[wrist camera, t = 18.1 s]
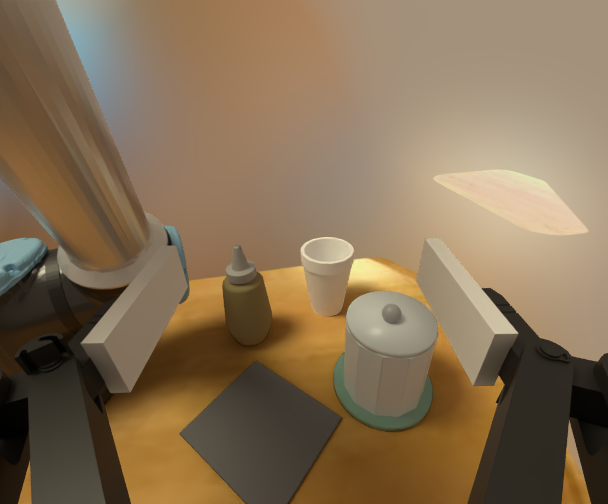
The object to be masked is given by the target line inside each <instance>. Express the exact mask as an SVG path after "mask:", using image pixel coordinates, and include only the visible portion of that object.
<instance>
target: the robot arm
mask: <svg viewBox="0 0 608 504" xmlns="http://www.w3.org/2000/svg"><path fill="white" fill-rule="evenodd" d="M0 179H1V180H2V182H3V183H4V184H5V185H6V186H7V187H8V188H9V189H10V191H11V192H12V193H13V194H14V195H15V196H16V197H17V198H18V199H19V201H20V202H21V203H22V204H23V205H24V206H25V207H26V208H27V209H28V210H29V211H30V213H31V214H32V215H33V216H34V217H35V218H36V219H37V221H38V222H39V223H40V224H41V225H42V226H43V227H44V228H45V229H46V231H48V233H49V234H50V235H51V236H52V237H53V238H54V240H56V242H57V243H58V244H59V248H58V249H52V250H48V246H47V244H45V243H43V242H42V241H41V240H40V239H37V238H20V239H15V240H10V241H6V242H3V243H0V504H18V501H19V497H20V494H21V490H22V486H23V483H24V479H25V475H26V472H27V468H28V465H29V461H30V469H31V498H32V504H131V502H130V498H129V495H128V491H127V487H126V483H125V480H124V476H123V472H122V469H121V465H120V461H119V458H118V454H117V450H116V447H115V443H114V439H113V436H112V432H111V428H110V425H109V421H108V417H107V414H106V410H105V406H104V404H105V403H106V401H107V400H108V399H109V398H110V397H111V396H112V395H113V393H130V392H131V391H132V389H133V387H134V385H135V383H136V381H137V380H138V378H139V376H140V374H141V372H142V370H143V369H144V367H145V365H146V363H147V361H148V359H149V358H150V356H151V354H152V352H153V350H154V348H155V347H156V345H157V343H158V341H159V339H160V337H161V336H162V334H163V332H164V330H165V328H166V326H167V325H168V323H169V321H170V319H171V317H172V315H173V314H174V312H175V310H176V308H177V306H178V304H181V303H183V302H184V301H186V299H187V298H188V296H189V278H188V273H187V270H186V269H187V267H186V260H185V255H184V250H183V246H182V242H181V239H180V235H179V233H178V230H177V229H176V228H175V227H173V226H165V225H164V226H163V225H162V224H161V222H160V221H159V220H158V219H157V218H155V217H154V216H152V215H151V214H149V213H147V212H144V211H143V209H142V206H141V204H140V202H139V199H138V197H137V194H136V192H135V190H134V187H133V185H132V182H131V180H130V178H129V176H128V173H127V170H126V168H125V166H124V164H123V161H122V158H121V156H120V154H119V151H118V149H117V146H116V144H115V142H114V139H113V137H112V134H111V132H110V130H109V127H108V125H107V122H106V120H105V118H104V115H103V113H102V110H101V108H100V106H99V103H98V101H97V99H96V96H95V94H94V91H93V89H92V86H91V84H90V82H89V79H88V77H87V74H86V72H85V70H84V67H83V65H82V62H81V60H80V58H79V55H78V53H77V51H76V48H75V46H74V43H73V41H72V39H71V36H70V34H69V31H68V29H67V27H66V24H65V21H64V19H63V17H62V14H61V12H60V10H59V8H58V5H57V3H56V0H0ZM416 281H417V283H418V285H419V287H420V289H421V291H422V292H423V294H424V296H425V298H426V300H427V302H428V303H429V305H430V307H431V309H432V311H433V313H434V315H435V316H436V318H437V320H438V322H439V324H440V326H441V327H442V329H443V331H444V333H445V335H446V337H447V339H448V340H449V342H450V344H451V346H452V348H453V350H454V352H455V353H456V355H457V357H458V359H459V361H460V363H461V364H462V366H463V368H464V370H465V372H466V374H467V376H468V377H469V379H470V381H471V383H472V385H473V386H494V384H495V382H496V379H497V377H498V375H499V376H500V378H501V379H502V381H503V383H504V384H505V385H504V387H503V389H502V391H501V393H500V395H499V397H498V399H497V401H496V403H498V405H497V408H496V412H495V415H494V418H493V421H492V425H491V428H490V431H489V435H488V438H487V441H486V444H485V448H484V451H483V454H482V458H481V461H480V464H479V468H478V471H477V474H476V477H475V481H474V484H473V487H472V491H471V494H470V497H469V500H468V504H561V502H562V491H563V480H564V469H565V458H566V447H567V436H568V424H569V420H570V423H571V427H572V431H573V435H574V439H575V442H576V447H577V451H578V454H579V458H580V462H581V466H582V470H583V474H584V478H585V481H586V485H587V489H588V493H589V497H590V501H591V504H608V353H607V354H604V355H603V356H602V357H601V358H600V360H599V361H598V362H596V361H591V360H586V359H582V358H576V357H573V356H571V355H570V354H569V352H568V351H567V350H565V349H564V348H563V347H561V346H560V345H558V344H556V343H554V342H551V341H549V340H545V339H541V338H539V337H538V335H537V334H536V333H535V332H534V331H533V330H532V329H531V328H530V326H528V324H527V323H526V322H525V321H524V320H523V319H522V317H521V316H520V315H519V314H518V313H516V311H515V310H514V308H512V306H510V304H509V303H508V302H507V301H506V300H505V298H504V297H503V296H502V295H500V294H499V293H497V292H495V291H494V290H493V289H491V288H480V287H479V285H478V284H477V283H476V281H475V280H474V279H473V278H472V277H471V275H470V274H469V273H468V272H467V271H466V269H465V268H464V267H463V266H462V265H461V263H460V262H459V261H458V260H457V258H456V257H455V256H454V255H453V254H452V252H451V251H450V250H449V249H448V248H447V247H446V245H445V244H444V243H443V242H442V240H441V239H440V238H425V240H424V245H423V251H422V255H421V260H420V265H419V270H418V275H417V280H416Z"/></svg>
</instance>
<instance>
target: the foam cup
mask: <svg viewBox="0 0 608 504" xmlns="http://www.w3.org/2000/svg"><path fill="white" fill-rule="evenodd" d="M353 260H354V249H353V247H352V245H351V244H350V243H348V242H346V241H345V240H341V239H338V238H333V237H332V238H331V237H322V238H317V239H312V240H310V241H308V242H306V243H304V245H303V246H302V248H301V261H302V266H303V267H304V271H305V277H306V282H307V287H308V292H309V297H310V302H311V307H312V310H313V311H314V312H315V313H316V314H318V315H321V316H329V317H330V316H334V315H337V314H338V313H339V312H341V310H342V307H343V304H344V299H345V294H346V289H347V285H348V280H349V275H350V270H351V267H352V264H353Z"/></svg>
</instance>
